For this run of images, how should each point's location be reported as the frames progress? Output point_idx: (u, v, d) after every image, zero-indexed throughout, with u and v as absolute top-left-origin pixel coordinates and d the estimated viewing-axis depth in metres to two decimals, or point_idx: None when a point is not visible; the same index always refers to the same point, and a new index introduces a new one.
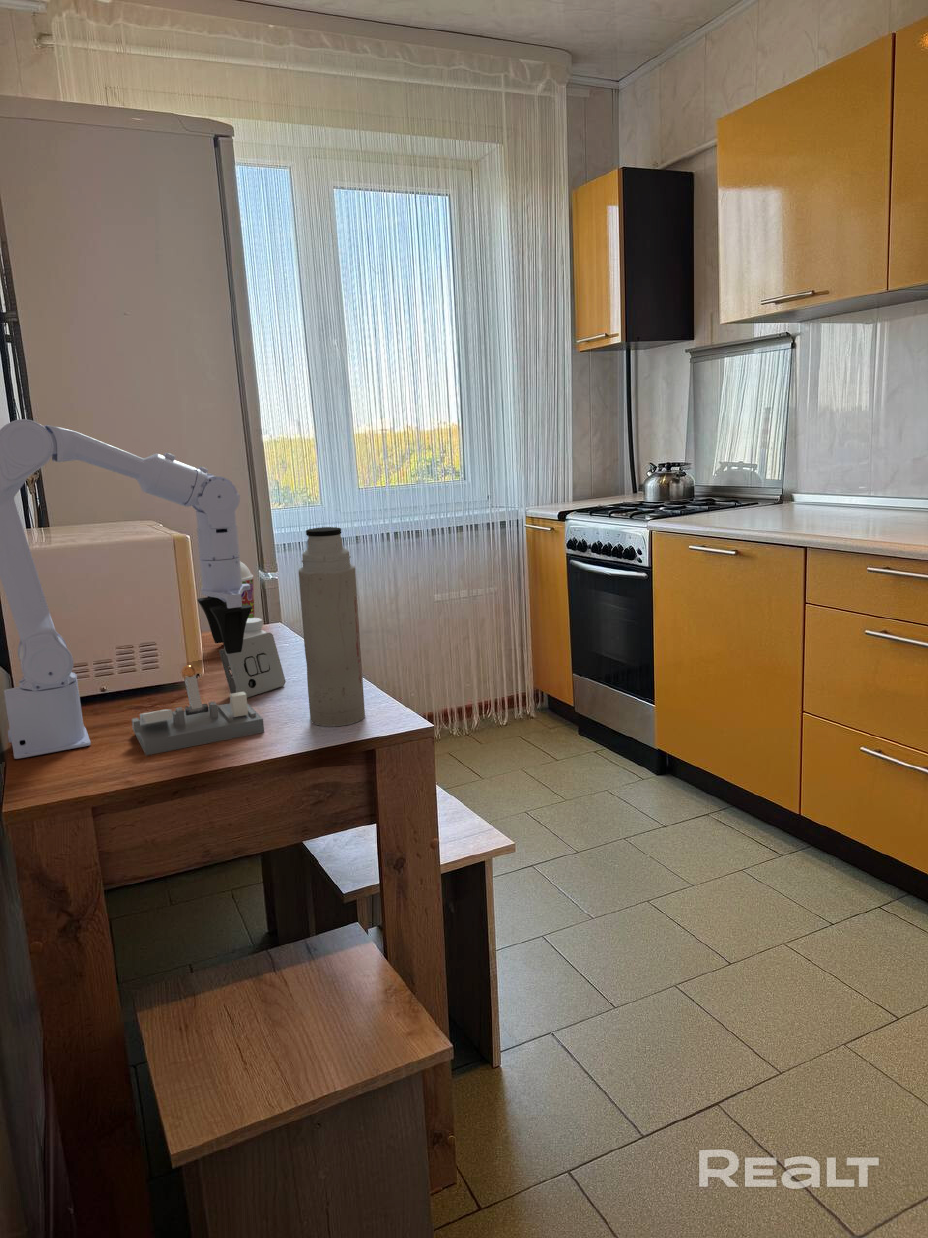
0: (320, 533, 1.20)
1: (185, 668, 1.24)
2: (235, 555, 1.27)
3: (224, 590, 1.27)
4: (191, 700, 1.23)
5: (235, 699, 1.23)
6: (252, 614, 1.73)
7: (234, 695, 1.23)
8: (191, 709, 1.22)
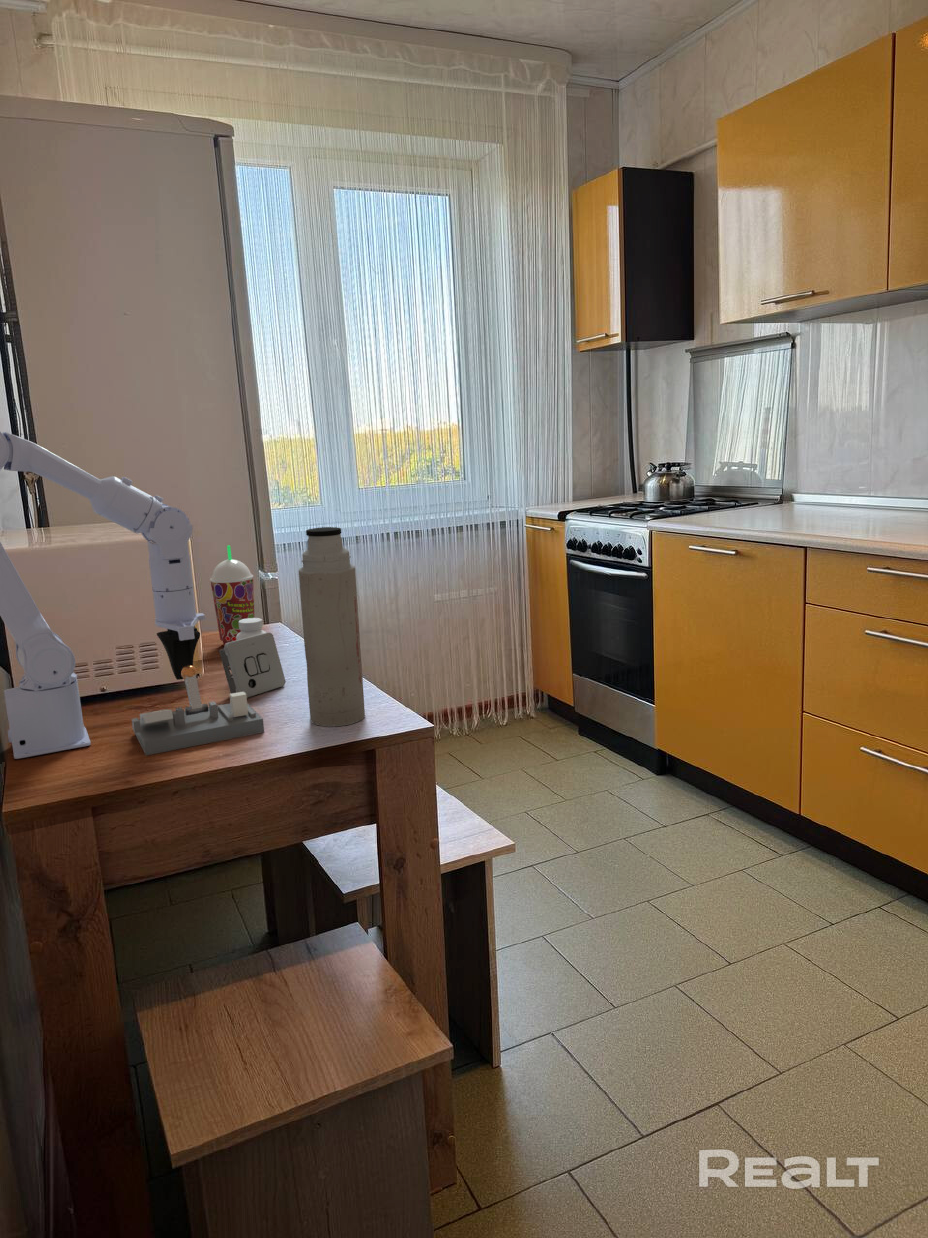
0: (320, 533, 1.20)
1: (185, 668, 1.24)
2: (189, 585, 1.26)
3: (177, 621, 1.25)
4: (191, 700, 1.23)
5: (235, 699, 1.23)
6: (252, 614, 1.73)
7: (234, 695, 1.23)
8: (191, 709, 1.22)
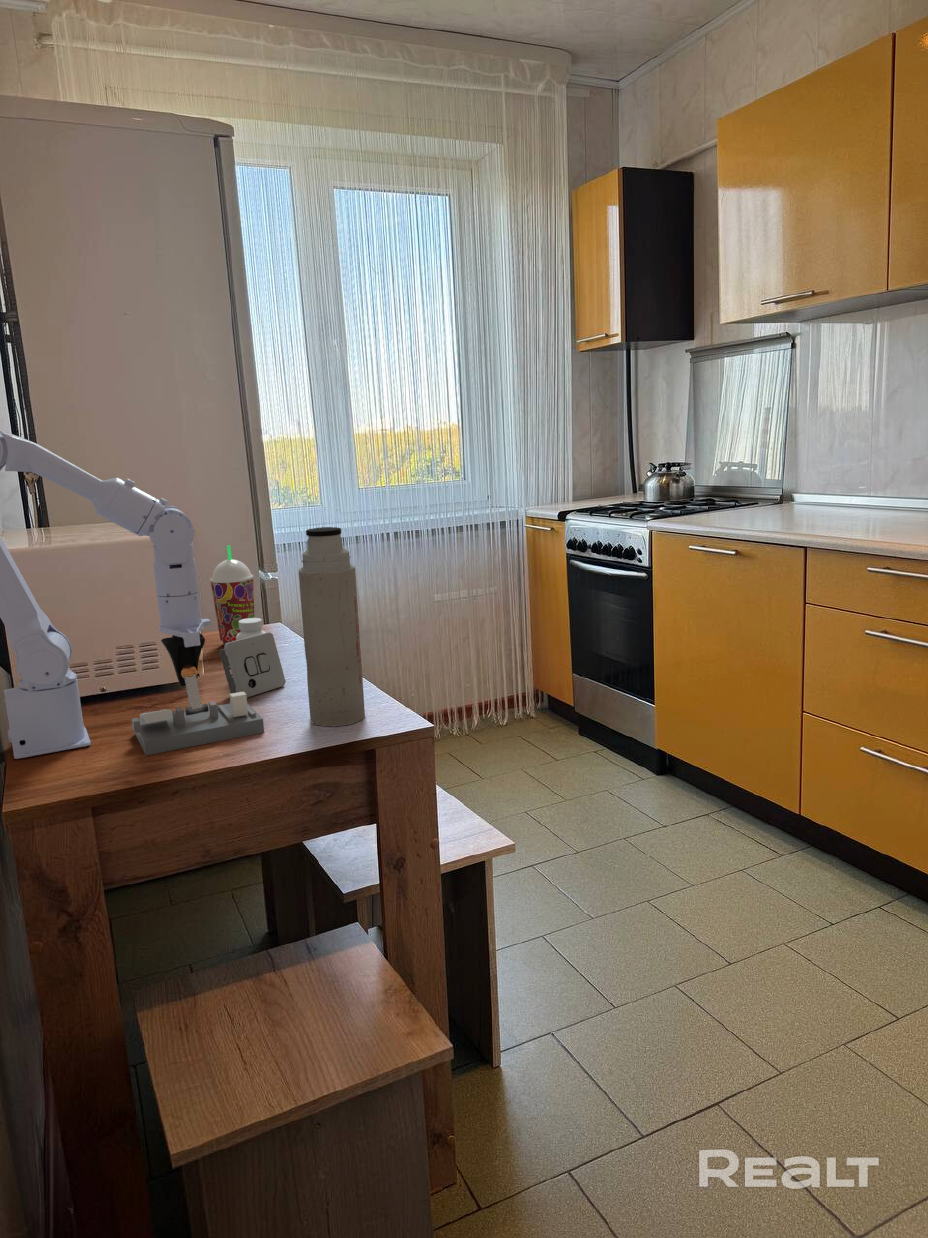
0: (320, 533, 1.20)
1: (185, 668, 1.24)
2: (191, 591, 1.22)
3: (182, 627, 1.22)
4: (191, 700, 1.23)
5: (235, 699, 1.23)
6: (252, 614, 1.73)
7: (234, 695, 1.23)
8: (191, 709, 1.22)
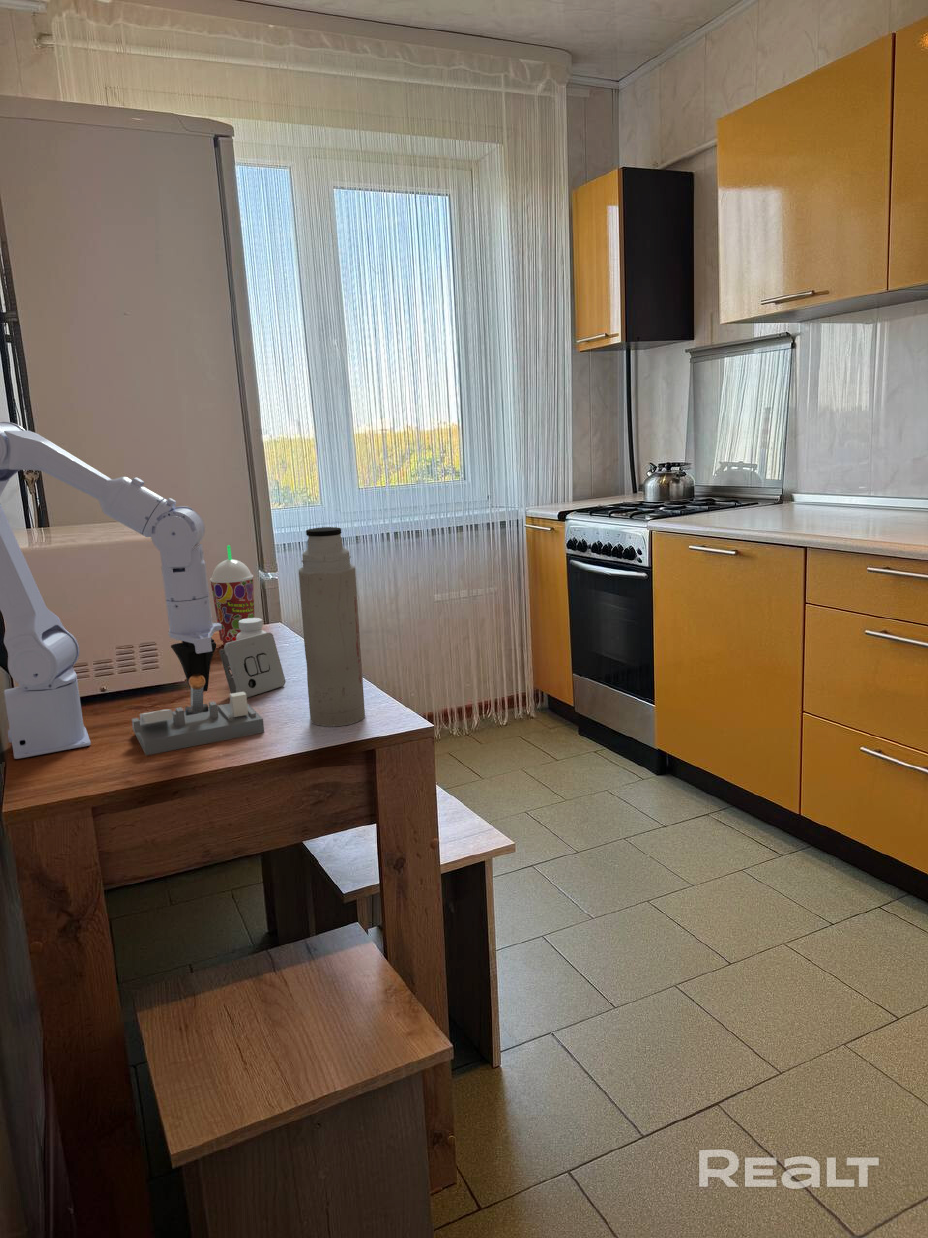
0: (320, 533, 1.20)
1: (194, 683, 1.19)
2: (197, 596, 1.17)
3: (193, 632, 1.18)
4: (193, 707, 1.22)
5: (235, 699, 1.23)
6: (252, 614, 1.73)
7: (234, 695, 1.23)
8: (191, 713, 1.23)
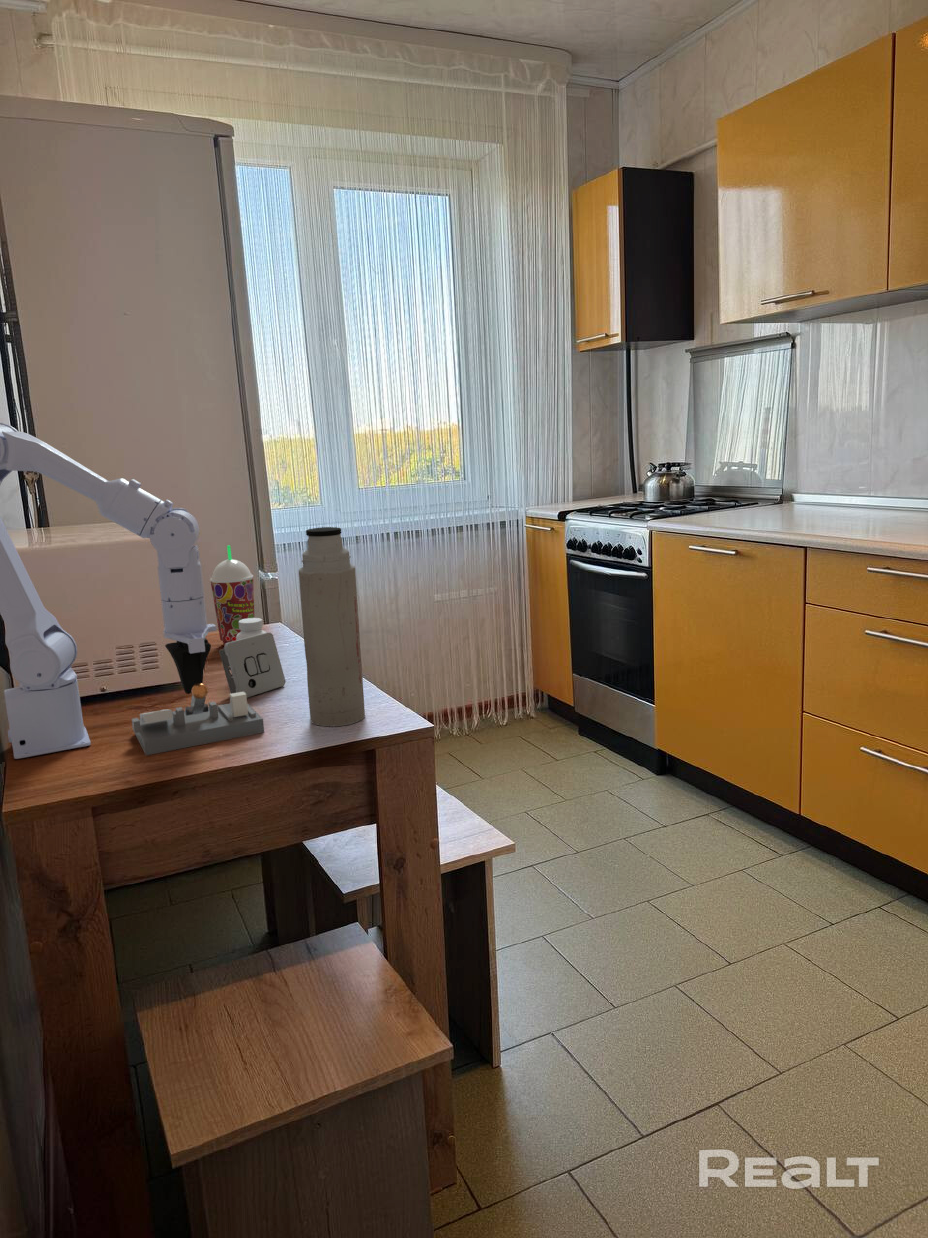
0: (320, 533, 1.20)
1: (197, 695, 1.18)
2: (193, 596, 1.19)
3: (187, 633, 1.19)
4: (194, 710, 1.22)
5: (235, 699, 1.23)
6: (252, 614, 1.73)
7: (234, 695, 1.23)
8: (191, 714, 1.23)
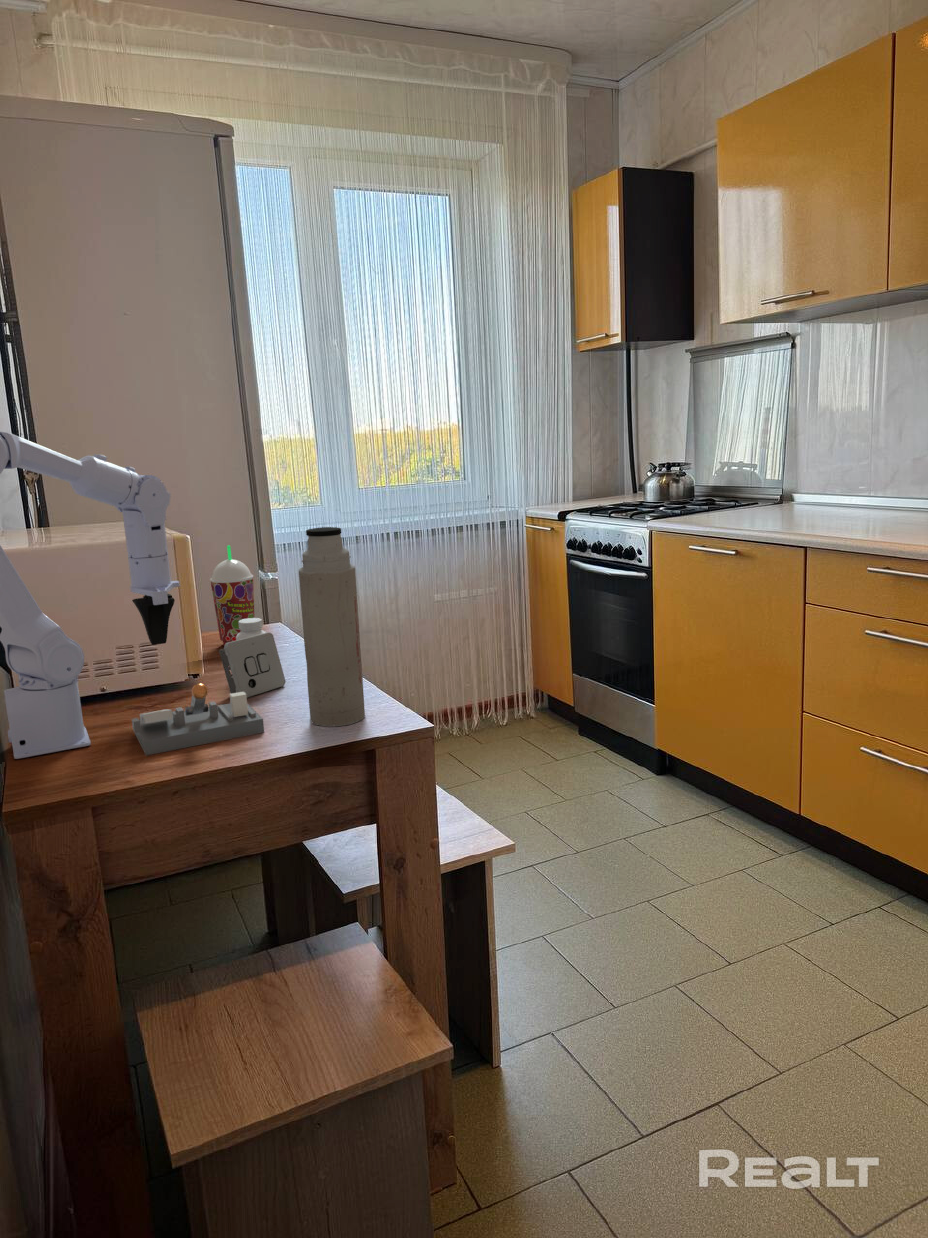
0: (320, 533, 1.20)
1: (197, 695, 1.18)
2: (167, 551, 1.31)
3: (152, 587, 1.29)
4: (194, 710, 1.22)
5: (235, 699, 1.23)
6: (252, 614, 1.73)
7: (234, 695, 1.23)
8: (191, 714, 1.23)
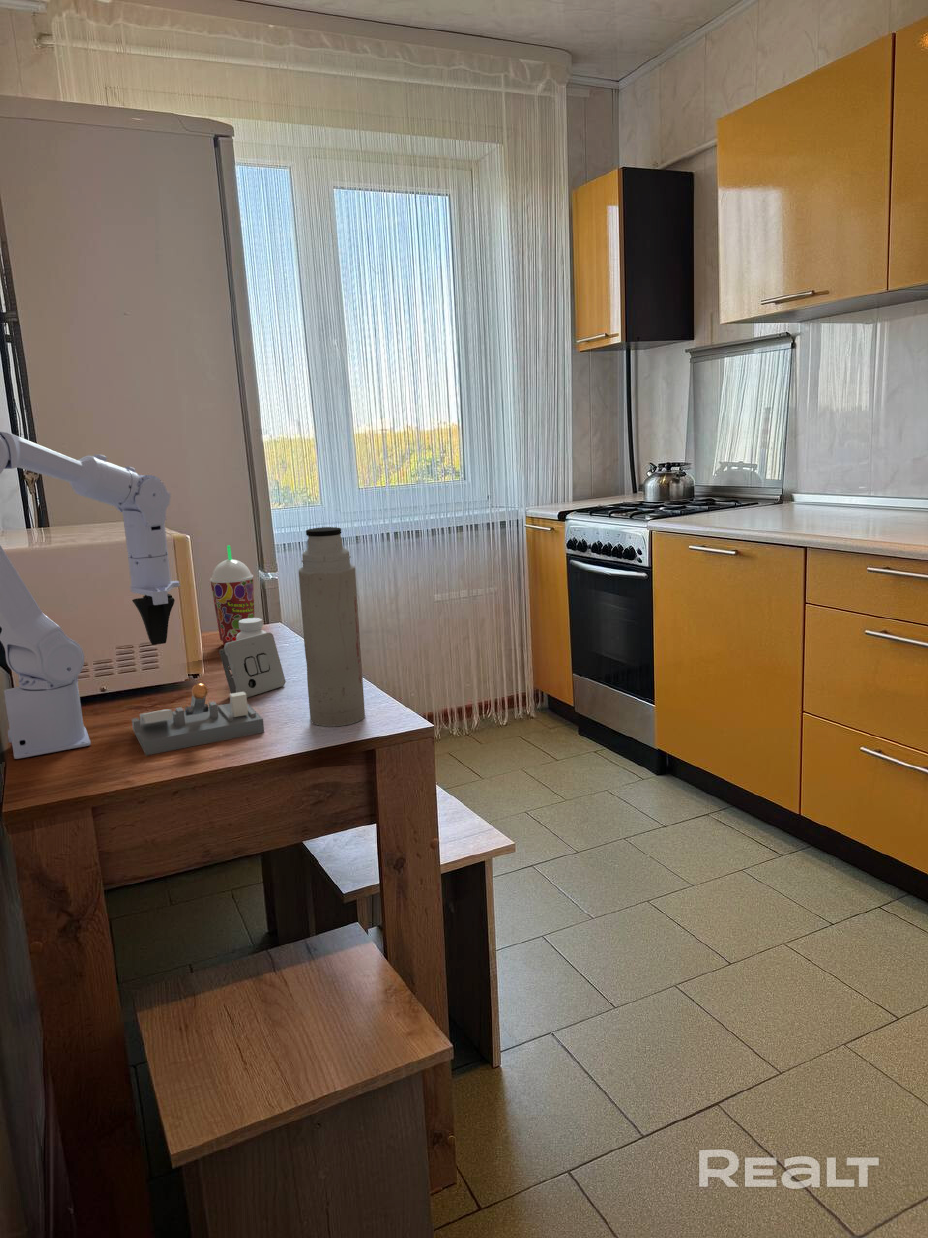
0: (320, 533, 1.20)
1: (197, 695, 1.18)
2: (167, 551, 1.31)
3: (152, 587, 1.29)
4: (194, 710, 1.22)
5: (235, 699, 1.23)
6: (252, 614, 1.73)
7: (234, 695, 1.23)
8: (191, 714, 1.23)
